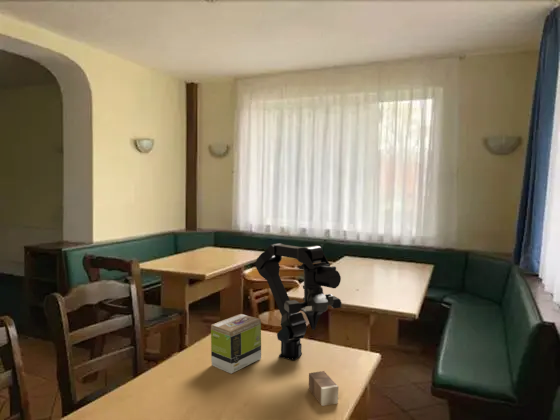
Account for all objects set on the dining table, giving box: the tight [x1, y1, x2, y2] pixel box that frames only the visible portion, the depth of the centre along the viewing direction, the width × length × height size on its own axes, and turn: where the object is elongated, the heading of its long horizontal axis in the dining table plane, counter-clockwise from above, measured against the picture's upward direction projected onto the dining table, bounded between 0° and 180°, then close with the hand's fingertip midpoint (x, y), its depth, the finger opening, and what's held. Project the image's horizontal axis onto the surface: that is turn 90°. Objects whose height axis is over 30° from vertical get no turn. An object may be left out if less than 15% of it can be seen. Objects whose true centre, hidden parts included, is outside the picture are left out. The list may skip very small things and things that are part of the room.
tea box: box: [210, 313, 262, 374], centre depth 147 cm, size 15×10×15 cm, turn 141°
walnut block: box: [308, 370, 339, 407], centre depth 127 cm, size 5×5×10 cm
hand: (313, 329), depth 144 cm, fingers closed
